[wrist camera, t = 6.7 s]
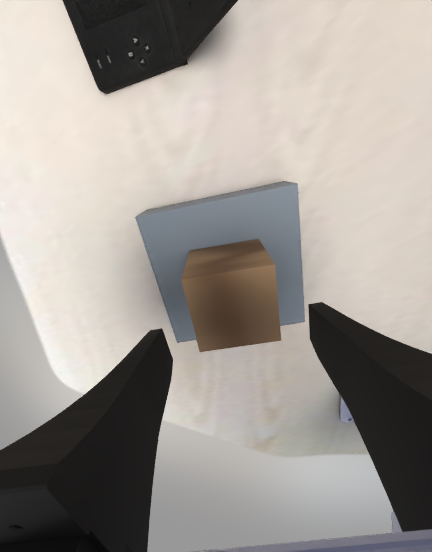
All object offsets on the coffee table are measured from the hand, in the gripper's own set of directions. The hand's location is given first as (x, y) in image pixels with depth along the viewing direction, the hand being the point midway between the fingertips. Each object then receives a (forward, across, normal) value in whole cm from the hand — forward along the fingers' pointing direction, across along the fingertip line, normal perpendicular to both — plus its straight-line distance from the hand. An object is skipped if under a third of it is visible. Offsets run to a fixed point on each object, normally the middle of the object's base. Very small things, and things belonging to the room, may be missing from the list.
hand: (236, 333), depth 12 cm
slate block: (+11, 0, 0) cm, 11 cm away
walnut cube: (+7, 0, 0) cm, 7 cm away
